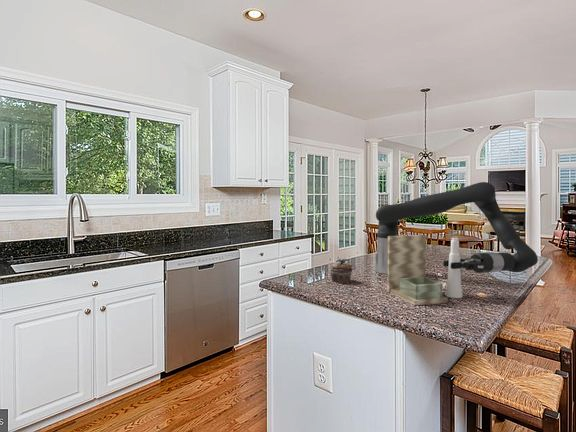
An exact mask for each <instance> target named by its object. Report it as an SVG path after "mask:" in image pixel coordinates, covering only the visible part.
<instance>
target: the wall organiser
mask: <svg viewBox="0 0 576 432" xmlns="http://www.w3.org/2000/svg"><path fill="white" fill-rule="evenodd" d="M426 257H427V235H426V234H417V235H416V234H414V235H409V234H408V235H397V236H388V274H386V275H387V278H386V279H387V280H386V281H387V283H386V284H387V288H386V290H387V291H386V292H387V293H391V294H392V295H394V296H396V297H398V298H399V299H402V300H403V301H405V302H407V303H410V304H412V305H413V306H420V305H433V304H443V303H444V304H447V303H448V297H445V296H443V283H442V282H439V281H436V280H433V279H430V278H428V277H426V272H427V271H426V269H427V267H426V266H427V265H426V264H427V263H426V262H427V261H426V259H427V258H426Z"/></svg>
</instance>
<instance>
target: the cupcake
mask: <svg viewBox="0 0 576 432" xmlns="http://www.w3.org/2000/svg"><path fill="white" fill-rule="evenodd" d="M329 272H330V279H331V282H332V281H333V283H335V282H336V284H347V282H348V283H350V282H349V281H351V277H352V274H353V273H352V272H353V269H352V264H350V262H349V260H348V259H347V258H342V259H341V258H338V259H337V260H336V261H335V262H334V263H333V264H331V268H330V270H329Z"/></svg>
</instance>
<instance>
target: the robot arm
mask: <svg viewBox="0 0 576 432" xmlns="http://www.w3.org/2000/svg"><path fill="white" fill-rule="evenodd" d="M496 197H497V195H496V187H495V186H494V185H493V184H492V183H490V182H486V181H481V182H480V181H479V182H476V183H473V184H471V185H467V186H464V187H460V188H458V189H457V188H456V189H453V190H448V191H443V192H438V193H434V194H433V193H432V194H428V195H424V196H421V197H417V198H414V199H412V200H408V201H406V202H401V203H396V204H382V205H381V206H380V207H378V208H377V209H376V211H375V212H376V213H375V218H376V220H377V221H378V230H377V233H376V236H377V237H376V245H377V246H376V252H375V273H379V274H383V275H384V274H385V275H388V236H398V228H399V221H400V220H405V219H411V218H420V217H422V218H423V217H428V216H435V215H438V214H440V215H441V214H443V213H445V212H448V211H449V210H452V209H454V208H455V207H459V206H461V205H464V204H465V205H466V204H471V203H474V205H476V207H477V209H479V210H480V211H481V213H482V214H483V215H484V216H485V218H486V219H487V220H488V222H489V225H490V226H491V227H492V230H493V231H494V233H495V235H496V237H497V239H498V241H499V242H500V244H501V246H502V247H503V248H504V249H505V250H515V251H516V253H514V254H511V253H509V252H477V253H476V252H475V253H473V254H472V255H471V257H464V258H463V257H462V258H461V257H460V262H454V263H451V269H460V268H461V270H466V271H473V272H475V273H477V274H482V273H483V274H485V273H496V272H505V271H507V272H512V273H522V272H525V271H526V270H528V269H530V268H532V267H534V266H536V265H537V263H538V261H539V258H538V255H537V253H536V252H535V250H533V249H532V248H531V247H530V246H529V245H528V244H527V243H526V242H525V241H524V240H523V239H522V238H521V236H520V235H519V233H518V232H517V230H516V228H515V227H514V226H513V224H512V223H511V221H510V220H509V219H508V218H507V217H506V216H505V215H504V213H503V211H502V210H501V208H500V206H499V204H498V201H497V199H496ZM442 264H443V267H448V266H449V259H448V260H447V259H446V260H443V263H442Z"/></svg>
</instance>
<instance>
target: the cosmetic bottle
mask: <svg viewBox="0 0 576 432" xmlns="http://www.w3.org/2000/svg"><path fill="white" fill-rule="evenodd" d="M448 255H449V256H448V260H449V266H448V268H447V280H446V281H447V282H446V288H445V294H444V295H445V296H446V298H451V299H461V298H463V295H464V294H463V290H462V273H461V270H462V269H461V268H460V269H451V263H454V262H460V258H461V253H460V241H459V237H451V240H450V252H449V254H448Z"/></svg>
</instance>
